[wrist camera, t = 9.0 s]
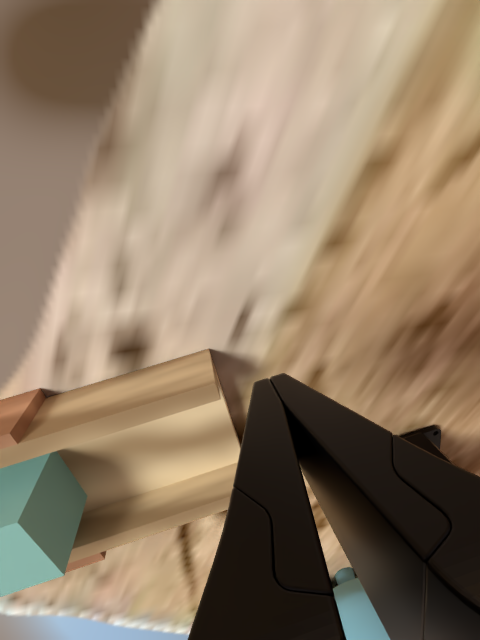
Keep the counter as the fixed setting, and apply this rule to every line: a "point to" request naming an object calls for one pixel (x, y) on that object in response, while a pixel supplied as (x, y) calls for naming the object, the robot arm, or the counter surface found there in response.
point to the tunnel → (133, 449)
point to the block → (37, 521)
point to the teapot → (356, 609)
